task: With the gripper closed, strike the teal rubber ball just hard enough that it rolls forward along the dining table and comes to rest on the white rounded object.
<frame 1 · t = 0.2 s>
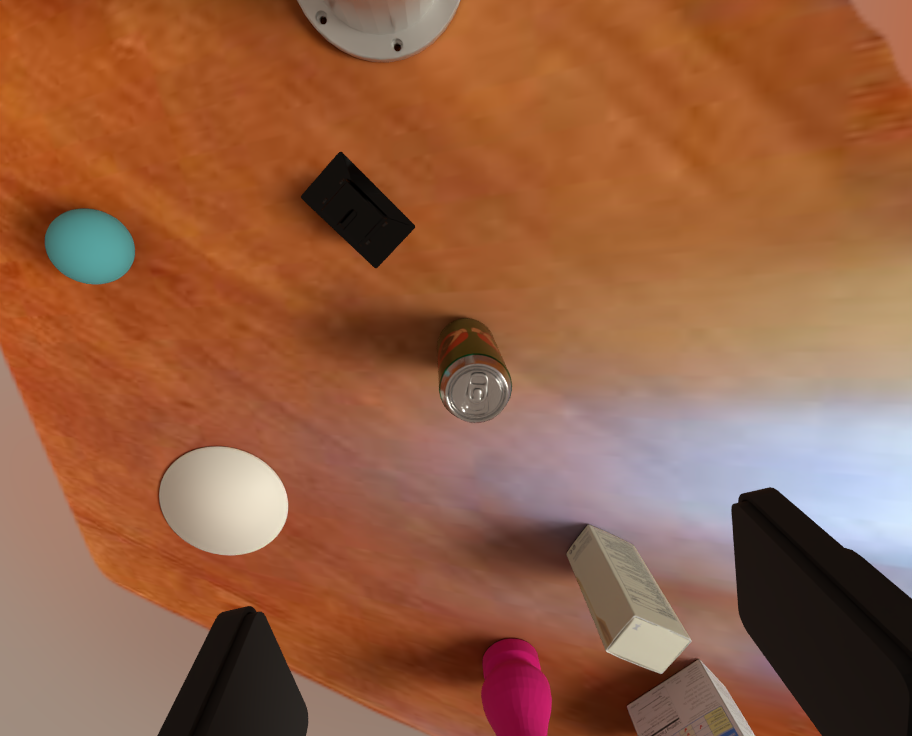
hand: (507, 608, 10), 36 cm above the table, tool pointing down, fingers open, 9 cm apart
pepper mill: (509, 657, 59), on the table
light bulb box: (675, 694, 62), on the table
white rounded object: (224, 502, 50), on the table
skincare box: (600, 548, 54), on the table
ball: (91, 247, 40), on the table
black box: (360, 211, 43), on the table
soda can: (465, 343, 47), on the table
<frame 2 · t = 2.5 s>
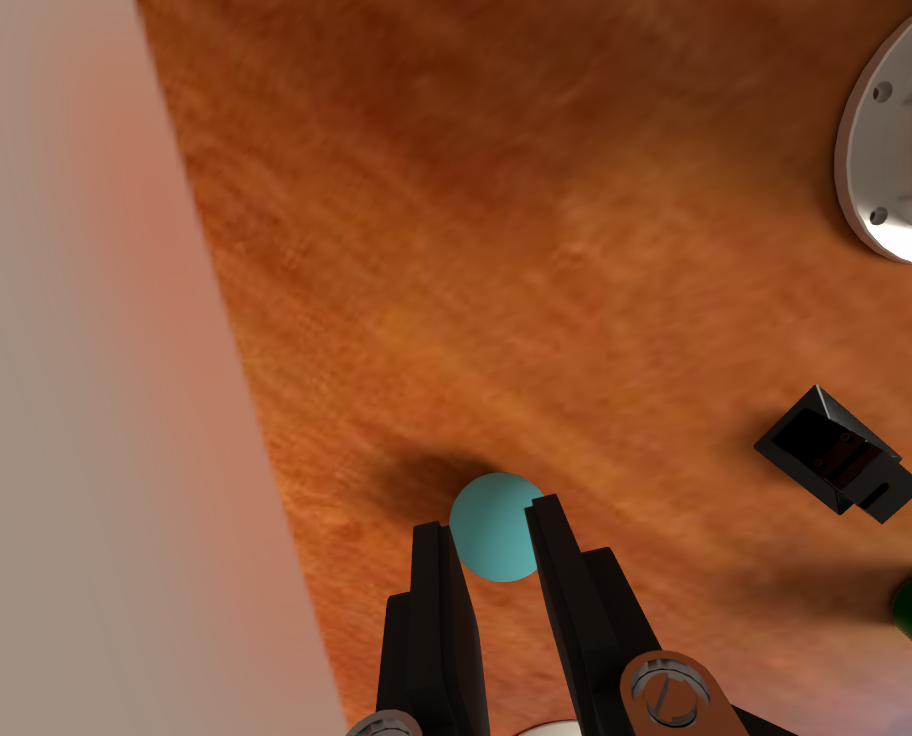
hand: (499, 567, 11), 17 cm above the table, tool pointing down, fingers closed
ball: (501, 525, 28), on the table
black box: (818, 446, 32), on the table
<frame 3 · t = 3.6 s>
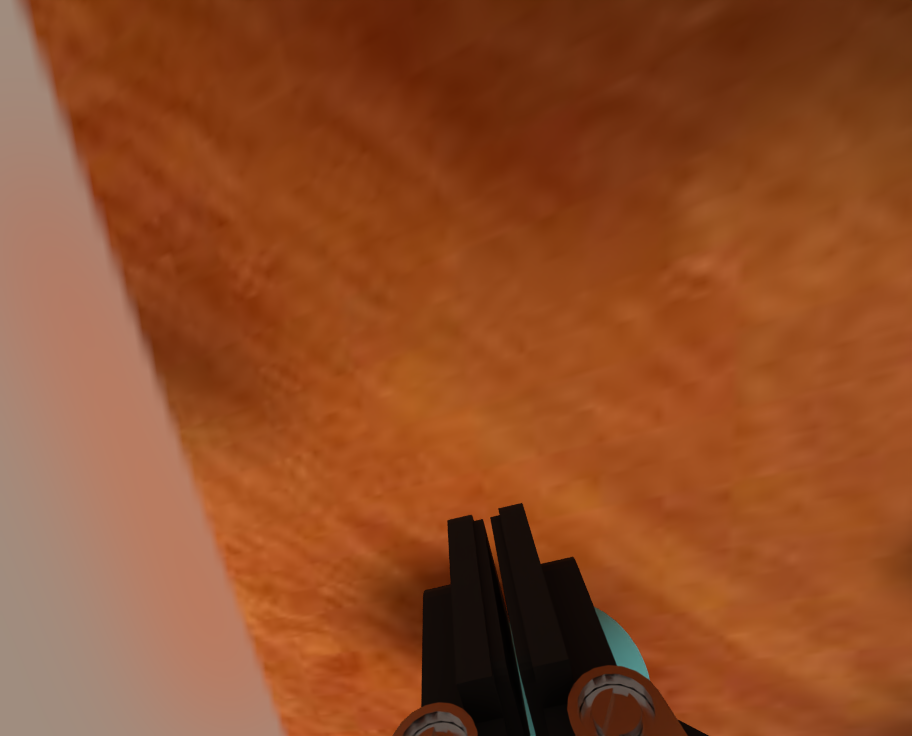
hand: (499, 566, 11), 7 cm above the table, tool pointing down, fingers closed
ball: (567, 685, 18), on the table
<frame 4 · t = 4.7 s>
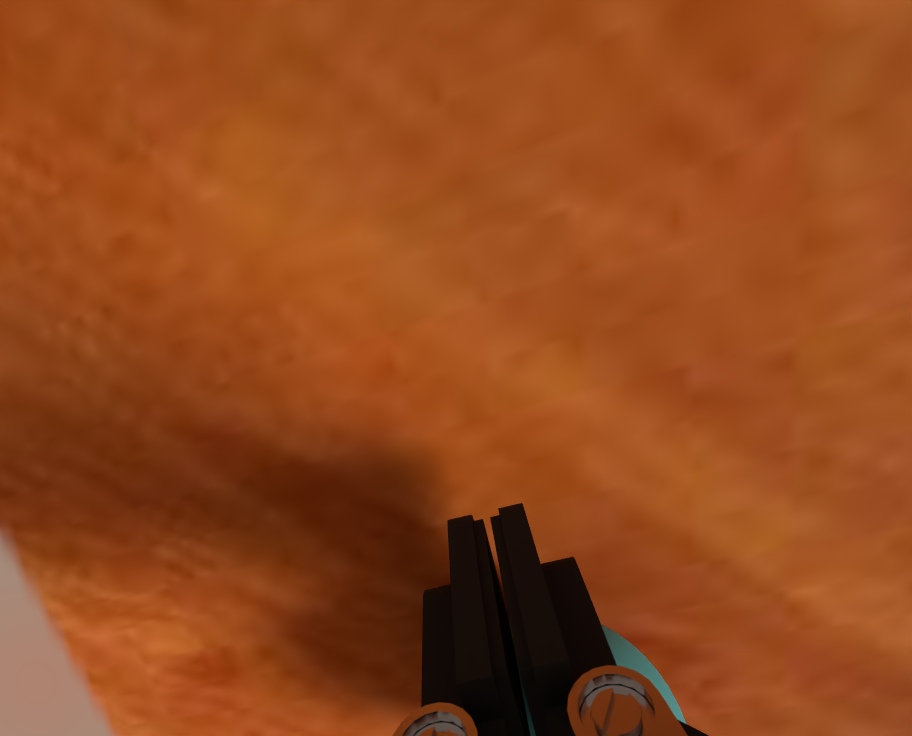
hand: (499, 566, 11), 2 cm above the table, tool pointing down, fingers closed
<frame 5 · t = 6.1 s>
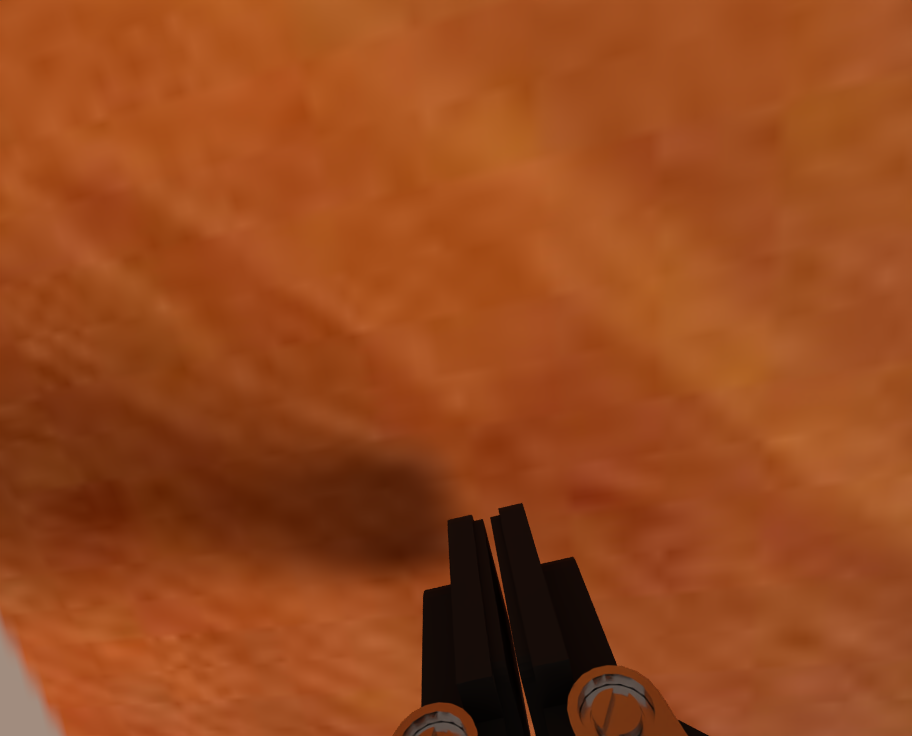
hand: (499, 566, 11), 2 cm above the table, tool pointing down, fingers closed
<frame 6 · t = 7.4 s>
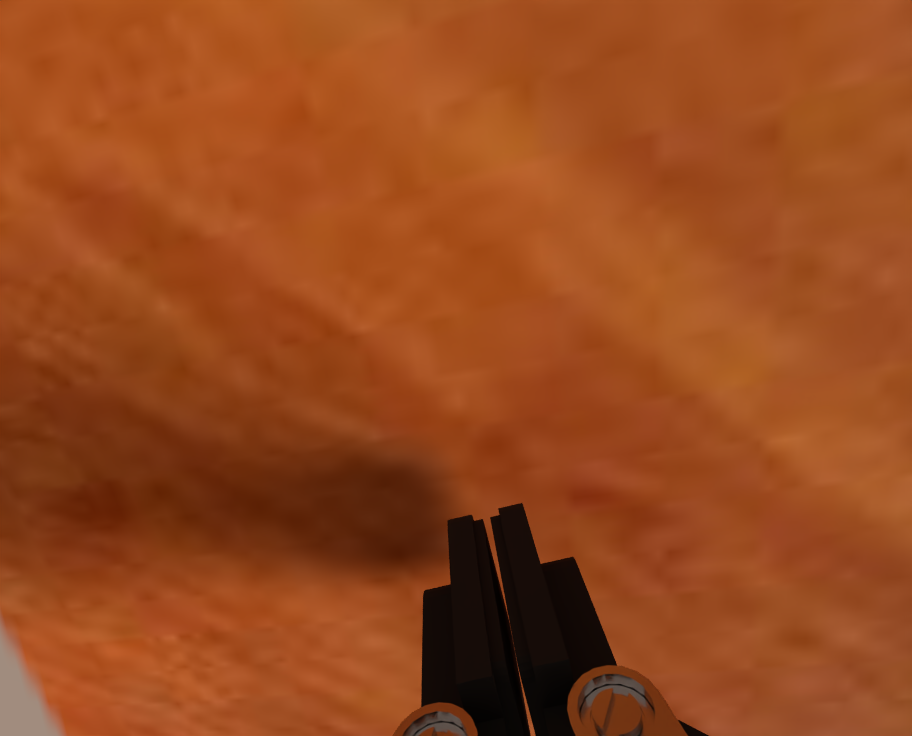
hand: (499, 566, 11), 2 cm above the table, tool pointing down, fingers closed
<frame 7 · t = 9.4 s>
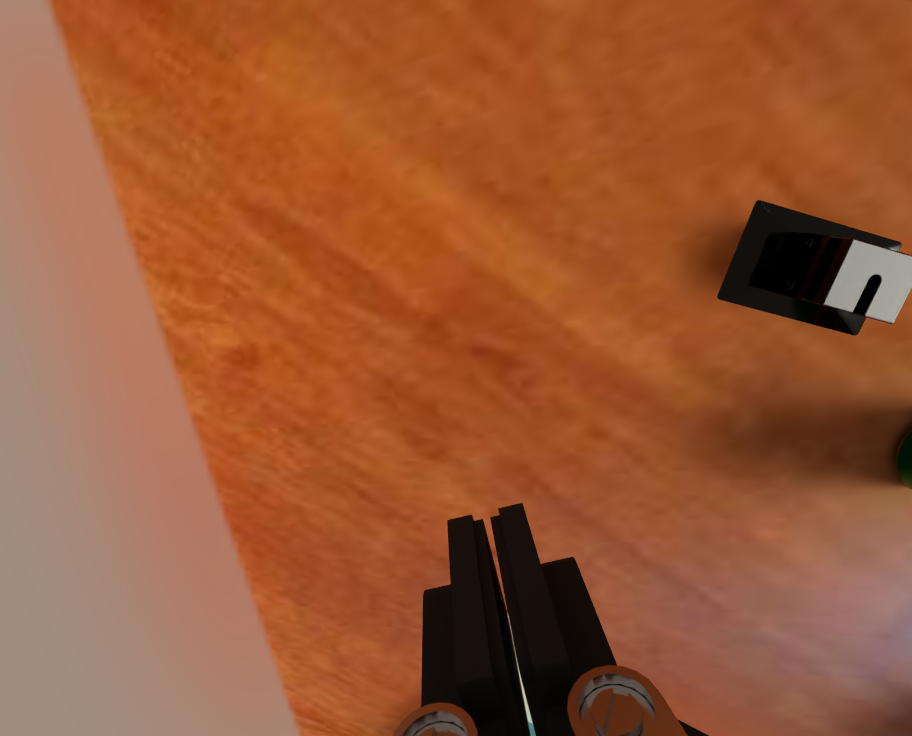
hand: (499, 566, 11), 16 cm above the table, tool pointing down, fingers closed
black box: (797, 268, 27), on the table
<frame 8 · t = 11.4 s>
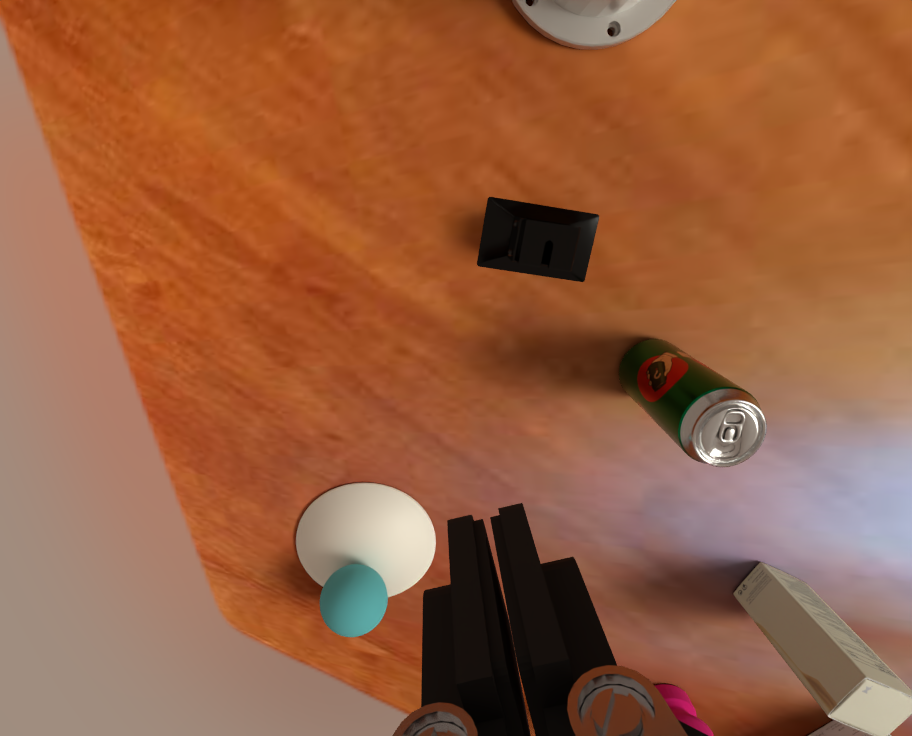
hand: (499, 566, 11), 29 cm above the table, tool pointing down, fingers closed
pepper mill: (657, 704, 54), on the table
white rounded object: (366, 542, 45), on the table
skincare box: (769, 587, 49), on the table
ball: (354, 599, 44), on the table
black box: (535, 239, 39), on the table
soda can: (646, 366, 42), on the table
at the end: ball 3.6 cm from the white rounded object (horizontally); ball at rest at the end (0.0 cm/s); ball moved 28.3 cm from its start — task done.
